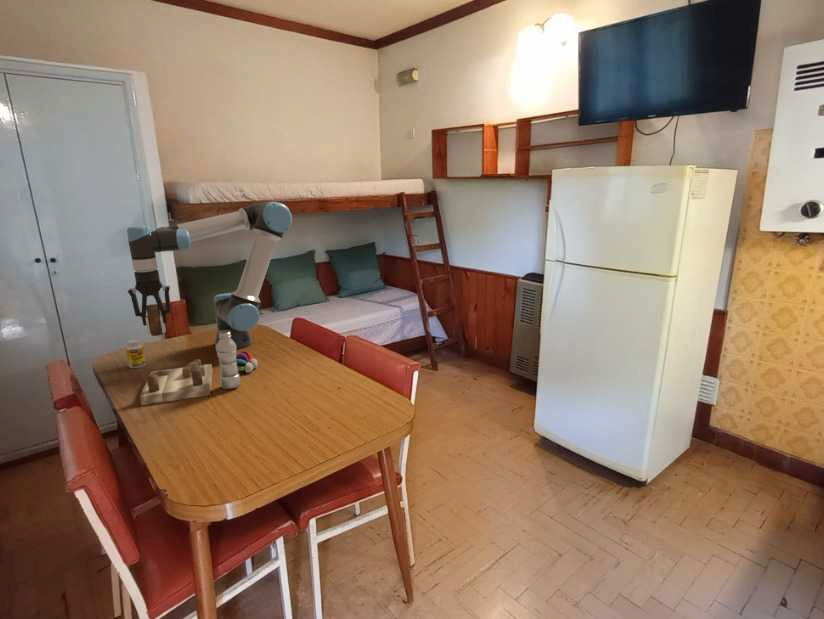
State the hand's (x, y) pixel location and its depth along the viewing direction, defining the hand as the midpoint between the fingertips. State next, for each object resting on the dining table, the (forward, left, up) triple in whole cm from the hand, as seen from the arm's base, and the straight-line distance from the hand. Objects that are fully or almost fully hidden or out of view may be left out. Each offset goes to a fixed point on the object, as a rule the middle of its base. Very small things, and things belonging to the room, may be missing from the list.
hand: (157, 332), depth 169 cm
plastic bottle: (-24, +26, -15) cm, 39 cm away
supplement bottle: (+10, -9, -15) cm, 20 cm away
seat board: (-8, +19, -15) cm, 25 cm away
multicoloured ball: (-29, +11, -15) cm, 35 cm away
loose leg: (0, 0, -1) cm, 1 cm away
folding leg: (-12, +15, -12) cm, 22 cm away
